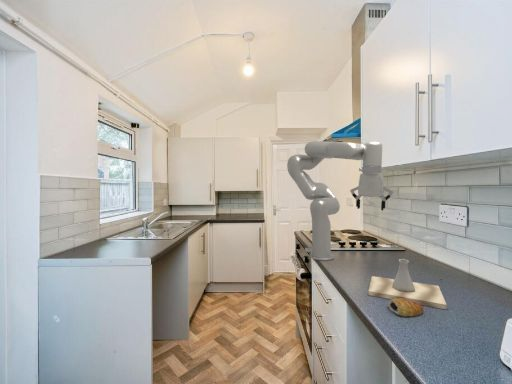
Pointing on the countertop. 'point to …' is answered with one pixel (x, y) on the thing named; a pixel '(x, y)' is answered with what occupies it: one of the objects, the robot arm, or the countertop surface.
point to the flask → (403, 277)
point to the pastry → (405, 307)
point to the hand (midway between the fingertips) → (370, 209)
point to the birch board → (421, 295)
